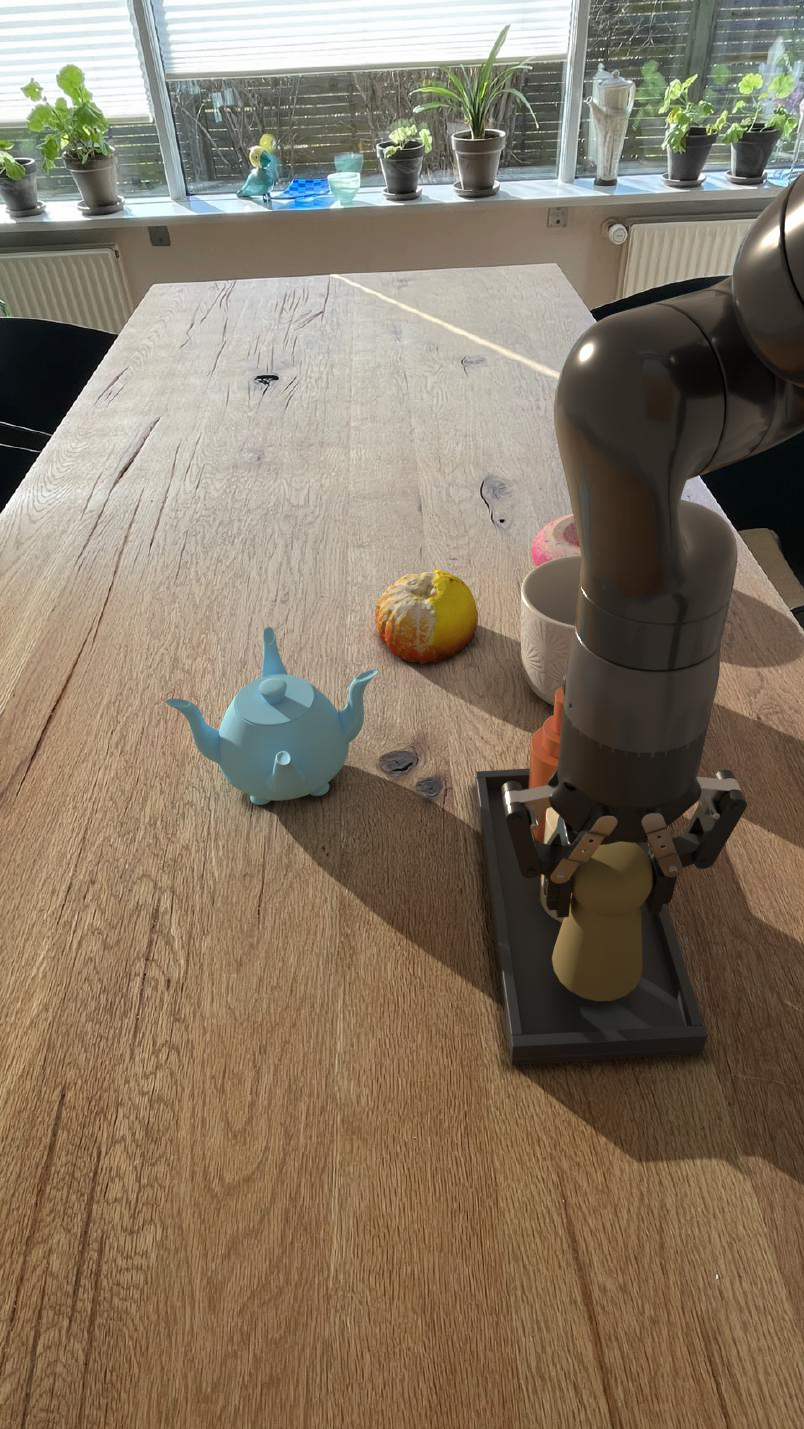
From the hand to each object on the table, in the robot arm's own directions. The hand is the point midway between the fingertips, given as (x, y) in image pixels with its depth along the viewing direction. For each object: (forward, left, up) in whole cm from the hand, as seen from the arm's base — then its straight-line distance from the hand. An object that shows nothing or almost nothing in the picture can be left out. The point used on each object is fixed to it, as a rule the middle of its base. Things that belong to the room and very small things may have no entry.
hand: (606, 903), depth 60 cm
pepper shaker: (0, 0, -7) cm, 7 cm away
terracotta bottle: (+13, -8, -9) cm, 17 cm away
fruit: (+41, -16, -10) cm, 45 cm away
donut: (+39, -38, -10) cm, 56 cm away
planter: (+25, -23, -10) cm, 36 cm away
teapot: (+32, +6, -10) cm, 34 cm away
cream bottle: (+6, -4, -9) cm, 12 cm away
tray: (+6, -4, -10) cm, 12 cm away
